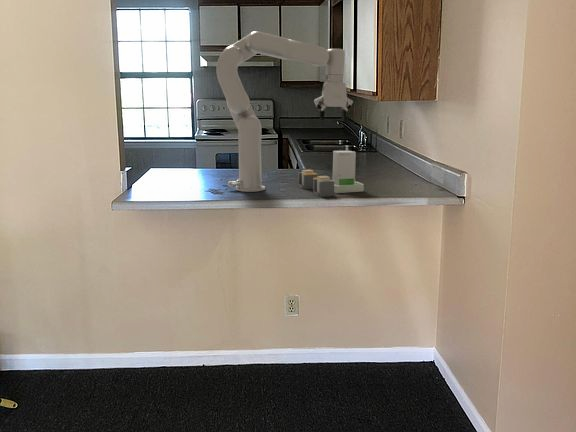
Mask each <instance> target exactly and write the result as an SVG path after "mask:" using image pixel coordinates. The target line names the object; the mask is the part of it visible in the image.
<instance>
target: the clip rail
mask: <svg viewBox="0 0 576 432" xmlns="http://www.w3.org/2000/svg"><path fill="white" fill-rule="evenodd" d="M317 176H318V173H317V172H314V173H309V174H303V185H302V172H297V188H299V189H303V190H311V189H312V193H313V194H312V195H315V196H317V197H319V198H322V197H324V198H325V197H334V196H335V192H334V181H322V182H319V193H318V192H317Z"/></svg>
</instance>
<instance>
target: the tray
mask: <svg viewBox="0 0 576 432" xmlns="http://www.w3.org/2000/svg"><path fill="white" fill-rule="evenodd" d="M330 181H332V179H330ZM364 189H365V184H364V183H362V182H359V181H356V180H355V184H354V185H339V186H337V185H335V184H334V194H341V193H342V194H345V193H356V192H357V193H359V192H364Z"/></svg>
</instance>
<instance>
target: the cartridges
mask: <svg viewBox="0 0 576 432" xmlns="http://www.w3.org/2000/svg"><path fill="white" fill-rule="evenodd" d="M301 173H302V185H303V174H309V173H315V171H314V170H312V169H301ZM330 180H331V176H328V175H317V192H318V193H319V182H322V181H330Z"/></svg>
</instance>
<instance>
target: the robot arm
mask: <svg viewBox="0 0 576 432" xmlns="http://www.w3.org/2000/svg"><path fill="white" fill-rule="evenodd" d="M257 54H258V55H259V54H260V55H264V56H267V57H273V58H277V59H279V60H286V61H297V62H301V63H307V64H310V65H312V66H313V67H324V66H326V67H325V75H323V76H322V80H324V81H325V82H323V85H322V91H321V96H319V97H317V98H315V99H314V100H313V102H314V104H315V107H316V108H317V110H318V111H319V120H320V121H325V114H326V113H325V109H326V108H327V107H328V108H329V107H333V108H335V107H337V108H338V107H339V108H341V109H342V111H341V117H340V118H341V119H340V120H341V121H343V122H345V121H346V120H347V115H348V113H347V112H348V111H349V110H350V109H351V107H352V105H353V103H354V100H352V99H351V98H349V97H348V96H347V95H348V94H347V85H346V82H344V80H345V79H344V78H345V56H346V52H345V50H344V49H343V48H329V49H326V48H325V47H323V46H319V45H316V44H312V43H307V42H305V41H304V42H303V41H298V40H294V39H290V38H287V37H283V36H279V35H274V34H272V33H266V32H262V31H259V30H258V31H256V30H255V31H252V32H250V33H249V34H247V35H246V36H244V37H243V38H241V39H239V40H238V41H236V42H235V43H233V44H231V45H229V46H226V47H225V48H224V49H223V50H222V52H221V54H220V55H219V57H218V60H217V63H216V67H215V68H216V69H215V70H216V72H215V73H216V77H217V81H218V83H219V85H220V88H221V90H222V94H223V95H224V98H225V100H226V106H227V108H228V111H229V113H230V115H231V117H232V119H233V123H234V124H235V127H236V129H237V131H238V134H237V135H238V138H237V139H238V140H237V141H238V144H237V146H238V178H237V180H234V181H233V180H232V181H227V185H228V187H235V190H236V191H239V192H241V193H243V192H244V193H245V192H246V193H254V192H255V193H256V192H262V191H265V190H266V186H265V185H262V183H263V181H262V133H263V132H262V123H261V121H260V119H259V118H258V117H257V115H256V113H255V111H254V109H253V107H252V104H251V101H250V98H249V95H248V94H247V92H246V90H245V88H244V86H243V83H242V80H241V78H240V76H239V71H238V68H239V66H240V65H241V64H242V63H244V62H246V61H247V60H249V59H252V58H253V57H254V56H255V55H257ZM319 103H321V105H320V104H319Z"/></svg>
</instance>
